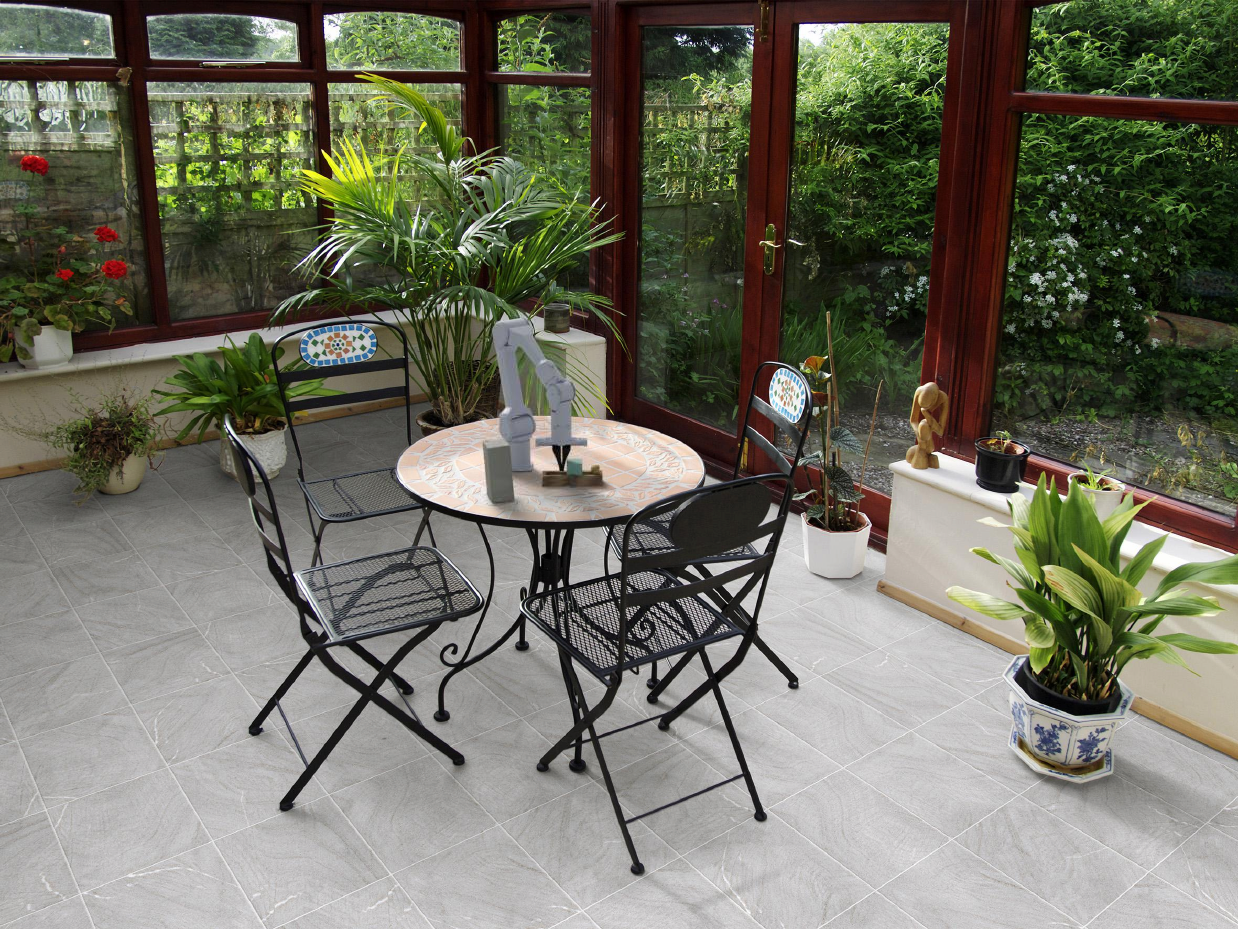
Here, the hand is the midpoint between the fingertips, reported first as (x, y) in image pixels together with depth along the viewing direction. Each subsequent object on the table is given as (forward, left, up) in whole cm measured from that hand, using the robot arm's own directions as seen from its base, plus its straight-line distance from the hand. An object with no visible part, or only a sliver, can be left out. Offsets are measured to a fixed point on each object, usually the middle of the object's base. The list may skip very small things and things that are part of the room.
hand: (561, 470), depth 312 cm
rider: (+4, 0, -2) cm, 4 cm away
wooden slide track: (+3, 0, -4) cm, 5 cm away
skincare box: (-17, -11, -4) cm, 21 cm away
